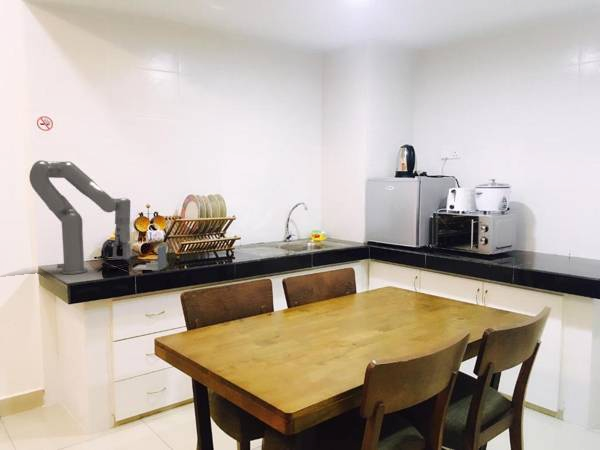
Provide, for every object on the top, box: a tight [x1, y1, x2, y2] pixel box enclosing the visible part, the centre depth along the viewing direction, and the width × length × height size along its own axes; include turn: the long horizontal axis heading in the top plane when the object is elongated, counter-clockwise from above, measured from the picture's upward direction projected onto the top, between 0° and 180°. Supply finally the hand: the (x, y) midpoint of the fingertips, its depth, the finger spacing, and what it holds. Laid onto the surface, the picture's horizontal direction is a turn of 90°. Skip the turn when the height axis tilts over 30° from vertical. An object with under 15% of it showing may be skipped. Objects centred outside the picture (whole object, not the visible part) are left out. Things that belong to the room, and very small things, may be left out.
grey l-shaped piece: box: [131, 244, 168, 272], centre depth 266 cm, size 15×11×12 cm
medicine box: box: [112, 241, 131, 260], centre depth 267 cm, size 8×4×9 cm, turn 84°
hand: (121, 254), depth 268 cm, fingers closed on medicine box, 4 cm apart
